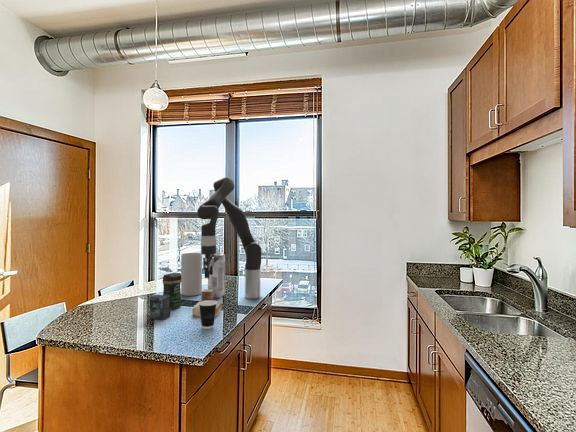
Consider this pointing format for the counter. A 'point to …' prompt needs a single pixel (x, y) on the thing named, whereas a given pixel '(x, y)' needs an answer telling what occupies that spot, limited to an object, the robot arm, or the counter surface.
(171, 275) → the coffee jar
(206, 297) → the walnut block
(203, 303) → the dixie cup
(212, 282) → the juice carton
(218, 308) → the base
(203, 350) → the counter surface
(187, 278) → the cylinder vase
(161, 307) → the box
